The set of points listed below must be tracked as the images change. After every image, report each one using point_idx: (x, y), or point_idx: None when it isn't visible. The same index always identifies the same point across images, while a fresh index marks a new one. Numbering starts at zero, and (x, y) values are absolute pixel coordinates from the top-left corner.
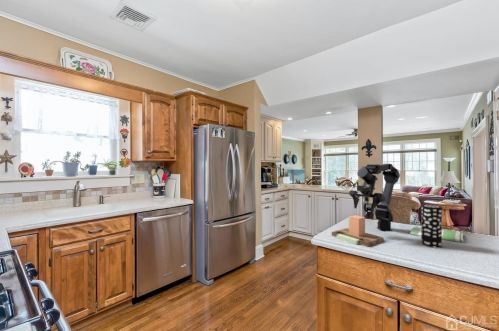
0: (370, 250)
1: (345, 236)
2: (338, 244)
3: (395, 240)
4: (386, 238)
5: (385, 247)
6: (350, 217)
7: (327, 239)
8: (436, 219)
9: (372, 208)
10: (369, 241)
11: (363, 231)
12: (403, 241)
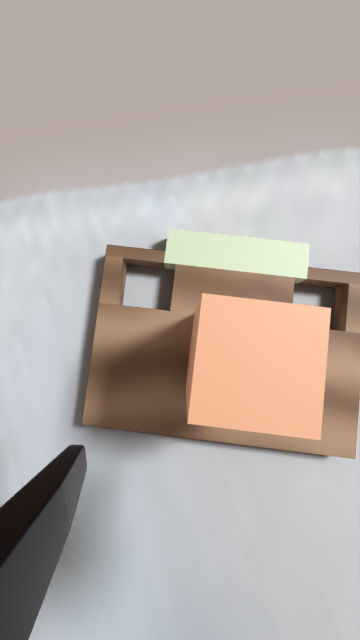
0: (80, 212)
1: (253, 255)
2: (234, 167)
3: None
4: (96, 488)
5: (43, 315)
6: (307, 306)
7: (323, 193)
8: None
9: (33, 487)
10: (108, 276)
11: (188, 369)
12: None
